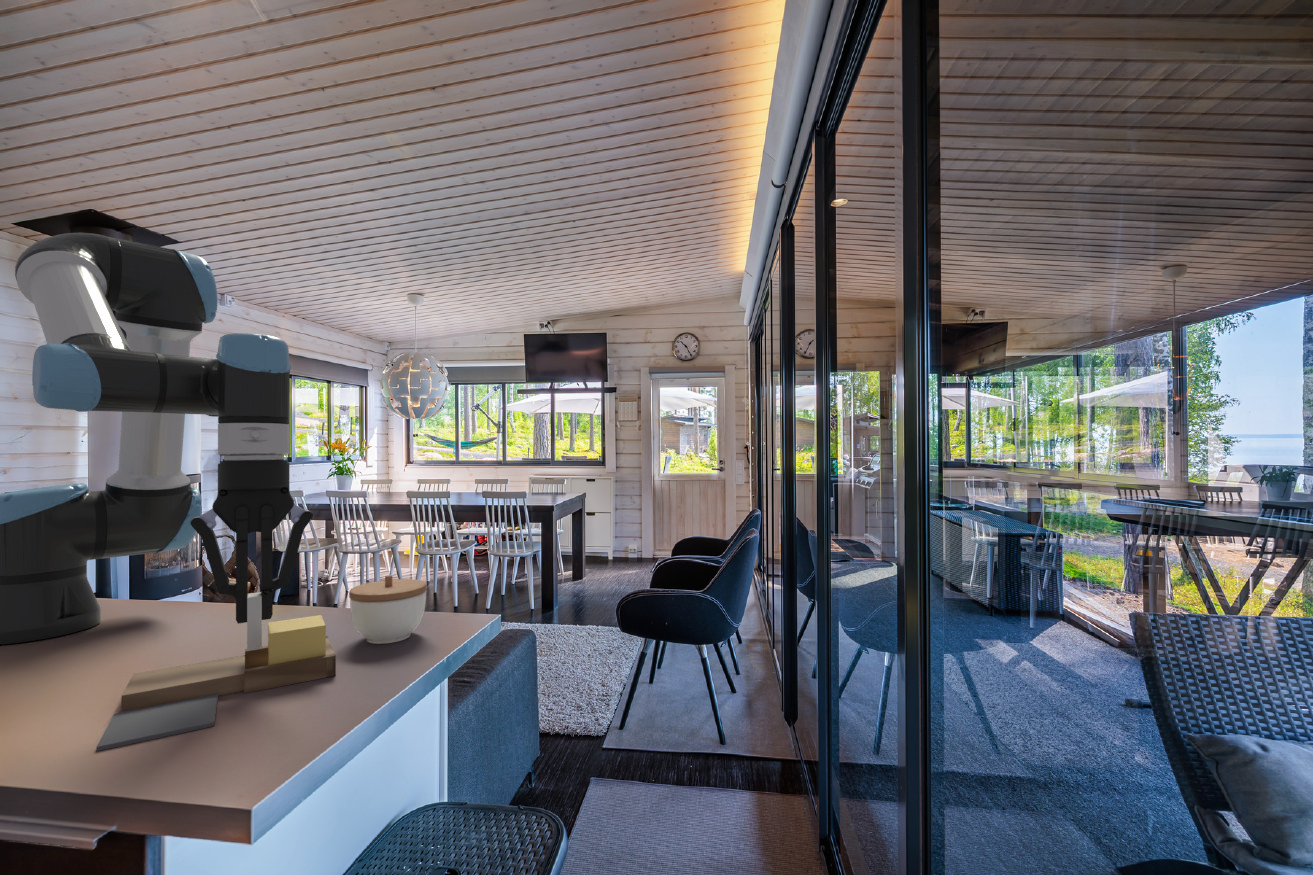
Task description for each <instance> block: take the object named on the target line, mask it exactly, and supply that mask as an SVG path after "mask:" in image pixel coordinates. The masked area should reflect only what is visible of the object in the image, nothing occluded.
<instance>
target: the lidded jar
mask: <svg viewBox="0 0 1313 875" xmlns="http://www.w3.org/2000/svg"><path fill="white" fill-rule="evenodd" d="M427 585H428V584H427V583H426V582H425V581H423V580H419V579H410V578H409V579H408V578H405V579H404V578H401V579H400V578H399V579H397V578H396V579H395V578H394V579H393V575H392V574H387V575H384V580H378V581H372V582H367V583H362V584H359V585H356V586H354V587H352V588H350V590H349V592H348V593H349V594H348V597H349V608H350V617H351V621H352V623H353V626H354V629H355V630H356V631H357V634H359V635H360V636H362V637H363V638H364V639H365V640H366V642H367V643H368V644H374V645H383V644H384V645H385V644H395V643H397V642H402V641H405V640H407V639H409V638H410V637H411V635H412V633H413V632H414V631H415V630H416V629H417V627H419V626H420V623H421V621H422V619H423V616H424V612H425V609H426V598H427V595H426V594H427V589H428V588H427Z"/></svg>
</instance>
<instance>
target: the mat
mask: <svg viewBox="0 0 1313 875" xmlns="http://www.w3.org/2000/svg"><path fill="white" fill-rule="evenodd" d="M218 700H219V696H218V694H213V695H208V696H203V697H198V698H193V699H187V700H182V701H177V702H172V703H166V704H161V705H156V706H151V707H145V708H140V709H135V710H130V711H124V712H121V711H120V712H115V713H113V715H112V717H111V719H110V721H109V723H108V725H107V727H106V728H105V730H104V732H103V734H102V736H101V738H100V740H99V742H98V743H97V745H96V748H95V749H96V750H95V751H96V752H100V751H103V750H109V749H112V748H113V749H114V748H117V747H118V748H119V747H122V746H127V745H132V744H136V743H140V742H141V743H142V742H145V741H150V740H156V739H160V738H164V737H170V736H174V735H178V734H183V733H188V732H193V731H197V730H201V729H206V728H211V727H214V726H215V723H216V715H217V708H218Z"/></svg>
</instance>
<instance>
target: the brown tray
mask: <svg viewBox="0 0 1313 875" xmlns="http://www.w3.org/2000/svg"><path fill="white" fill-rule="evenodd" d="M336 658H337V656H336V652H335V650H334V648H333V646H332V643H331V641H330V639H329V636H328V635H326V655H323V656H317V657H312V658H306V659H300V660H295V661H289V662H283V663H278V664H272V665H268V645H265V646H264V645H262V649H258V650H252V651H247V648H245V649H244V655H239V656H234V657H227V658H226V657H225V658H221V659H214V660H208V661H201V662H195V663H191V664H184V665H183V664H182V665H177V666H172V667H165V668H159V669H154V670H147V671H141V672H135V673H133V674H132V676H131V678H130V679H129V681H128V683H127V685H126V686H125V689H124V690H123V692H122V694H121V698H120V699H121V704H120V705H121V706H120V707H121V710H120V712H124V711H130V710H135V709H140V708H145V707H151V706H156V705H161V704H166V703H172V702H177V701H182V700H187V699H193V698H198V697H203V696H208V695H213V694H218V697H219V696H225V695H230V694H234V693H239V692H243V694H248V693H252V692H257V691H263V690H269V689H274V688H280V687H284V686H289V685H294V684H295V685H296V684H299V683H300V684H301V683H304V682H310V681H315V680H320V679H325V678H329V677H336V676H337V675H336V674H337V669H336V667H337V666H336V665H337V663H336V662H337V659H336Z"/></svg>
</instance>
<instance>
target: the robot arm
mask: <svg viewBox="0 0 1313 875" xmlns="http://www.w3.org/2000/svg"><path fill="white" fill-rule="evenodd" d="M14 276H15V279H16V280H15V281H16V283H17V287H18V289H19V290H20V292H21V294H23V296H24V297H25V299H27V300H28V301H29V302H30V303H32V304H33V306H34V309H35V310H36V314H37V317H38V320H39V322H40V326H41V329H42V333H43V335H44V338H45V341H46V344H41V345H39V346H38V347H37V348H36V349H35V352H34V354H33V360H32V370H31V371H32V374H31V376H32V379H31V380H32V390H33V392H32V394H33V399H34V400H35V402H36V403H37V404H38V405H40V406H41V407H43V408H46V409H55V410H57V409H58V410H68V411H69V410H70V411H76V412H78V413H82V412H83V413H84V412H85V413H87V412H119V413H120V412H121V421H120V422H121V423H120V437H119V439H120V440H119V454H118V467H117V470H116V471H115V472H114V473H113V474H110V476H108V477H106V479H105V489H104V490H93V491H90V487H89V486H88V485H87V483H85V482H83V483H70V484H60V485H53V486H52V485H51V486H44V487H37V488H28V489H27V488H26V489H21V490H14V491H10V492H4V493H0V644H1V645H10V644H19V643H26V642H33V641H38V640H45V639H50V638H56V637H60V636H65V635H68V634H73V633H76V632H80V631H83V630H87V629H89V628H93V627H94V626H97V625H98V624H100V623H101V621H102V619H101V618H102V617H101V616H102V615H101V613H102V612H101V607H100V604H99V602H98V600H97V598H96V595H95V593H94V590H93V589H92V586H91V584H90V582H89V580H88V571H87V570H88V568H87V566H88V561H92V560H100V559H110V558H119V557H121V558H122V557H127V556H128V557H129V556H137V555H148V554H153V555H156V554H161V553H163V552H168V551H169V552H170V551H177V550H182V549H183V548H185V547H187V546H188V545H189V544H191V542H192V541H193V539H194V537H195V536H196V534H198V535H199V536H200V537H201V540H202V544H203V548H204V551H205V554H206V556H207V557H206V558H207V560H208V564H209V566H210V567H209V568H210V570H211V573H212V577H213V579H214V583H215V587H216V591H217V593H218V594H220V595H227V596H232V597H234V599H235V621H236V624H245V623H247V624H246V625H247V627H246V628H247V629H246V645H247V646H246V649H247V651H252V650H258V649H262V646H263V645H262V644H263V643H262V642H263V641H262V638H263V637H262V635H263V631H262V630H263V628H262V626H263V624H262V623H263V622H262V621H267V620H271V619H272V617H273V613H274V612H273V610H274V609H273V596H274V593H275V592H276V591H277V590H279V589H280V590H281V589H282V588H286V587H288V586H289V584H290V582H291V577H292V574H293V570H294V567H295V563H296V559H297V556H298V553H299V548H300V545H301V541H302V538H303V534H304V530H305V529H306V527H307V526H308V524H309V523H310V521H311V520H312V519H313V516H314V514H313V512H312V511H310V510H309V509H304V508H302V507H301V506H299V505H297V504H295V500H294V498H293V497H292V495H291V492H290V491H291V490H290V462H289V461H288V459H285V456H288V455H289V454H290V393H291V392H290V386H291V385H290V384H291V383H290V382H291V381H290V379H291V376H290V374H291V370H292V366H291V364H290V362H291V361H290V353H289V352H290V351H289V349H290V348H289V345H288V344H287V342H286V341H285V340H283V339H282V338H279V337H276V336H271V335H267V334H259V333H258V334H257V333H248V332H245V333H241V332H239V333H238V332H237V333H236V332H235V333H233V332H232V333H227V334H226V333H225V334H224V335H222V336H221V337H220V338H219V340H218V344H217V345H218V347H217V354H216V355H215V357H216V358H207V357H197V356H190V350H191V341H192V340H193V339H195V338H196V337H197V336H199V335H200V334H202V332H203V324H209V323H212V322H213V321H215V318H216V315H217V313H216V312H217V311H218V290H217V283H216V278H215V275H214V273H213V270H212V268H211V266H210V265H209V263H208V262H207V261H206V260H205V259H204V258H203V257H202V256H201V257H200V256H199V255H197V254H192V253H189V252H184V251H182V250H181V251H180V250H177V249H175V248H166V247H162V246H156V245H153V244H152V245H151V244H148V243H141V242H137V241H132V240H126V239H122V238H121V239H120V238H116V237H110V236H106V235H104V234H103V235H102V234H98V233H91V232H90V233H89V232H69V233H68V232H66V233H62V234H61V233H60V234H56V235H53V236H48V237H46V238H42V239H41V240H38V241H36V242H34V243H32V244H31V245H30V246H28V247H27V248H26V249H25V250H24V251H22V253H21V254H20V255H19V256H18V258H17V260H16V264H15V266H14ZM113 311H115V314H114V313H113ZM122 329H123V330H124V332H125V334H126V338H125V335H124V333H123V331H122ZM186 415H205V416H208V417H212V418H213V417H217V455H219V456H220V457H223V458H222V460H221V461H219V463H217V496H216V498H215V500H214V501H213V503H212V508H211V509H209V510H207V511H206V512H204V513H202V495H201V494H202V493H201V492H200V490H199V488H197V487H195V486H192V485H191V478H190V477H188V475H186V473H184V472H183V471H182V461H183V460H182V459H183V450H184V449H183V448H184V433H185V422H186V421H185V419H186ZM289 513H291V514H290V521H291V523H292V524H293V525H292V527H291V530H290V534H289V537H288V540H287V544H286V548H285V551H284V555H283V558H282V562H281V564H280V565H281V566H280V569H279V572H278V573H279V574H278V575H277V576H278V577H275V578H274V577H273V575H274V573H273V572H274V571H273V570H274V569H273V566H274V565H273V564H274V562H273V557H274V556H273V552H274V551H273V546H274V544H273V538H274V536H273V534H274V533H273V532H274V530H275V529H277V528H278V527H279V525H280V524H281V523H282V521H283V520H284V519H285V518H286V516H287V515H288V514H289ZM216 517H218V518H219V519H220V520H221V521H222V522H223V523H224V524H225V525H226V527H228V528H229V529H230V530H231V532H233V533H235V582H231V581H230V579H229V575H228V573H227V568H226V566H225V562H224V559H223V555H222V553H221V549H220V546H219V542H218V540H217V539H218V538H217V536H216V533H215V531H214V530H213V529H215V528H216V527H217V521H216ZM254 532H255V533H256V532H257V533H260V592H250V593H249V589H248V588H249V583H248V582H249V580H248V579H249V534H250V533H254Z"/></svg>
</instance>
